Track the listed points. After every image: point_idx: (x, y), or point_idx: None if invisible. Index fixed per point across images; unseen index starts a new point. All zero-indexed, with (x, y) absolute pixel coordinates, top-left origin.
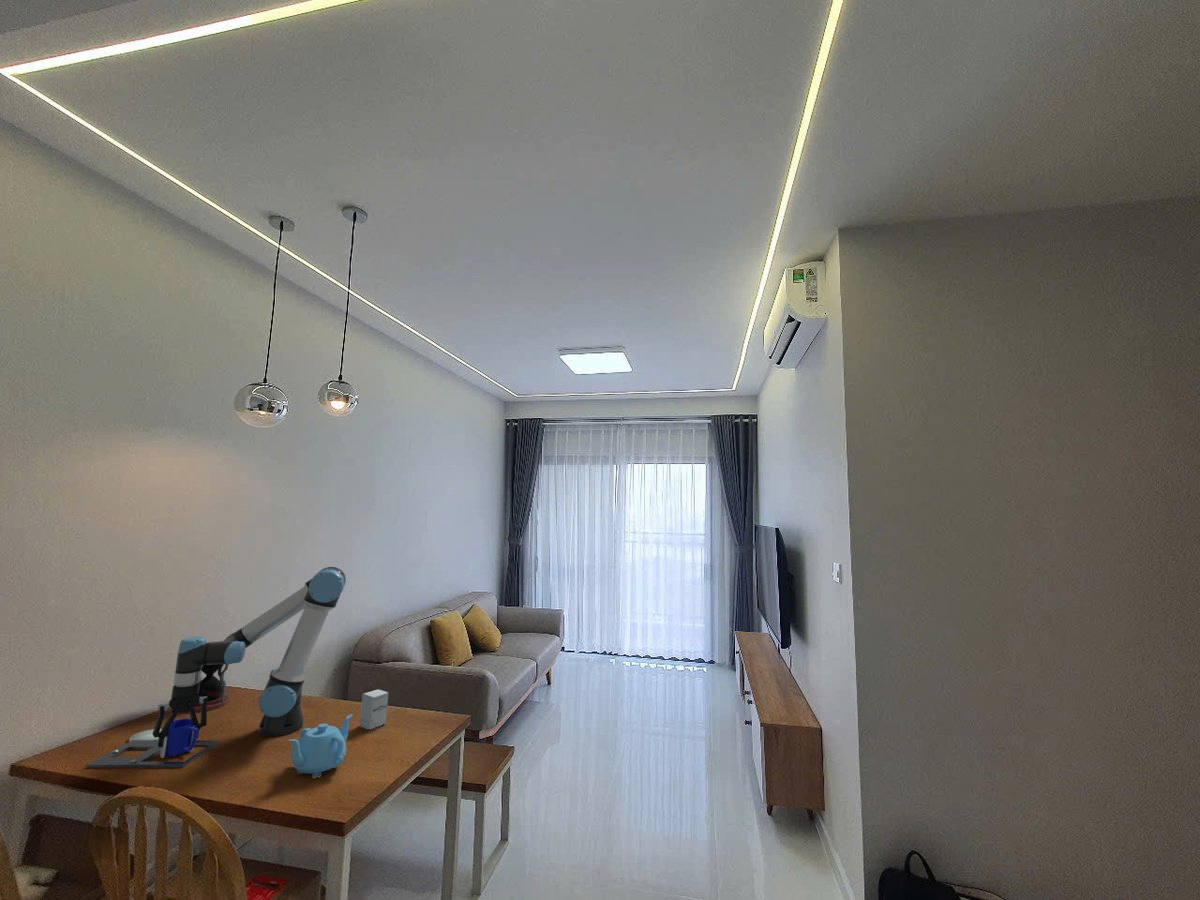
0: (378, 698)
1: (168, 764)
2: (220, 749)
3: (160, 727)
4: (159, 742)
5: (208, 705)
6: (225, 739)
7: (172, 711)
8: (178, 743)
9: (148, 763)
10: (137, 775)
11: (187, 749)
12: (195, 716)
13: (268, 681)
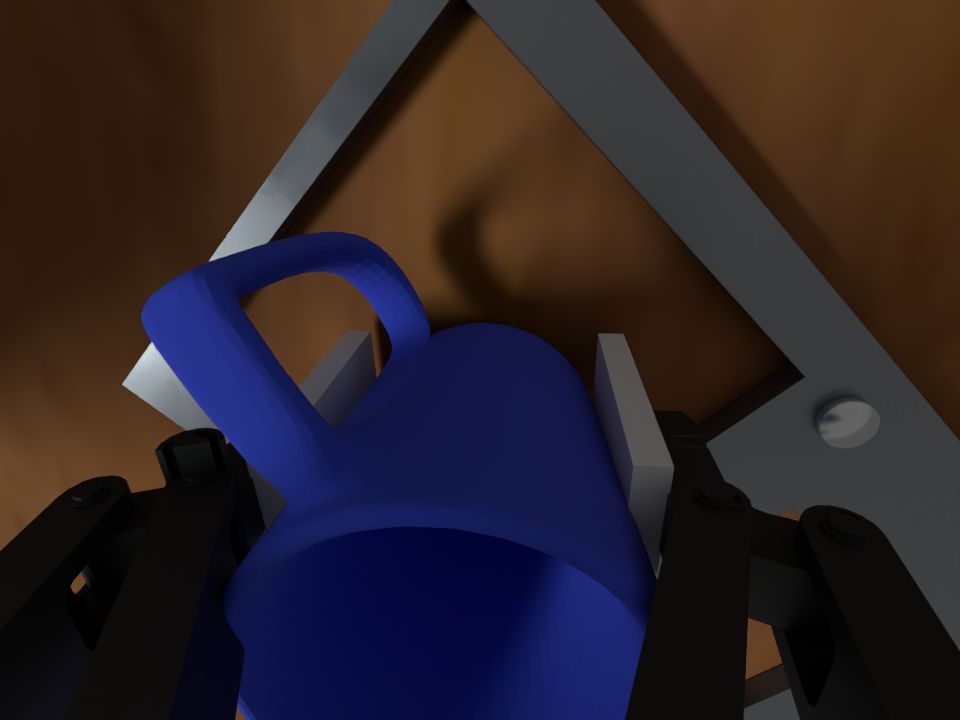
0: None
1: (627, 42)
2: (111, 199)
3: (869, 666)
4: (708, 452)
5: None
6: (100, 420)
7: None
8: (479, 363)
9: (770, 263)
10: (931, 60)
11: (394, 279)
12: (94, 698)
13: None
